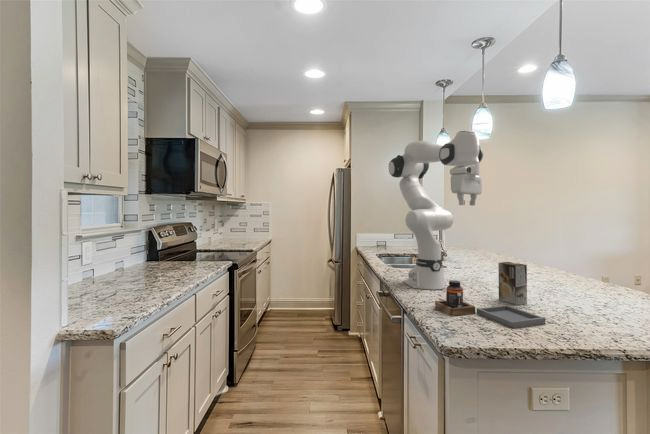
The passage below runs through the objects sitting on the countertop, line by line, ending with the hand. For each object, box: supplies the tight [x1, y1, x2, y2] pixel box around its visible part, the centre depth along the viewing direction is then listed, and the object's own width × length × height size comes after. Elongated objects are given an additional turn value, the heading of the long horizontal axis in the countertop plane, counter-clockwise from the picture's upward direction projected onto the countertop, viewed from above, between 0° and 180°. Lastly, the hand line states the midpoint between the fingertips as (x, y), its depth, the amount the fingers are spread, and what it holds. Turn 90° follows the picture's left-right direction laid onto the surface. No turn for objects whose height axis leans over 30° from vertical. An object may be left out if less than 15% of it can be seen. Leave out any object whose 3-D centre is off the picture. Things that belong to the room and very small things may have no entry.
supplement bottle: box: [445, 279, 464, 308], centre depth 127 cm, size 6×6×11 cm
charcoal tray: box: [476, 304, 546, 329], centre depth 118 cm, size 16×14×2 cm
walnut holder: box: [434, 299, 476, 317], centre depth 128 cm, size 11×11×2 cm
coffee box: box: [498, 261, 528, 306], centre depth 139 cm, size 9×6×16 cm
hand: (467, 205), depth 134 cm, fingers open, 8 cm apart
